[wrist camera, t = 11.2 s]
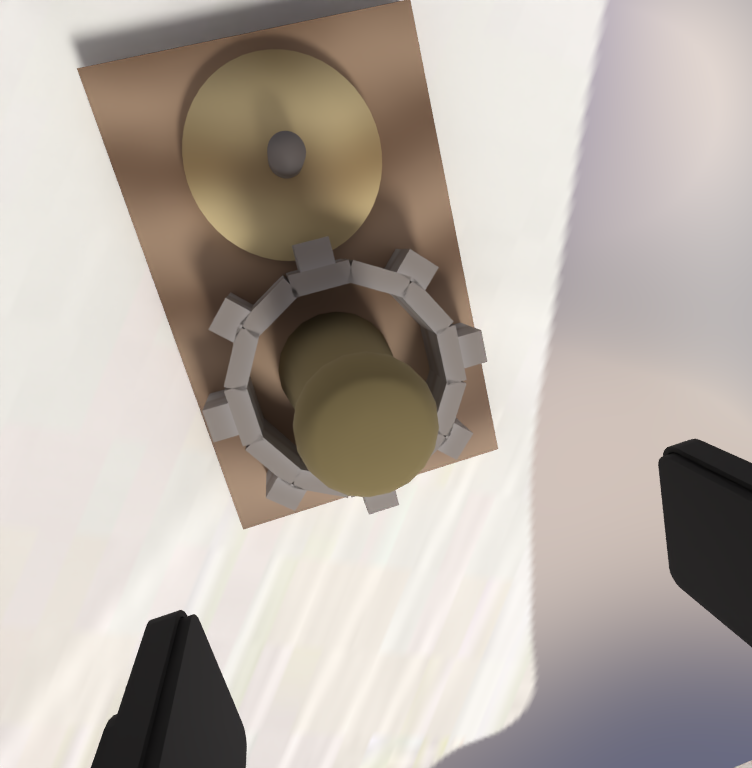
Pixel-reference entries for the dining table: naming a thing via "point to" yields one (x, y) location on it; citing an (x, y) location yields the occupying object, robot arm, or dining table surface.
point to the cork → (356, 406)
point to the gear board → (294, 227)
